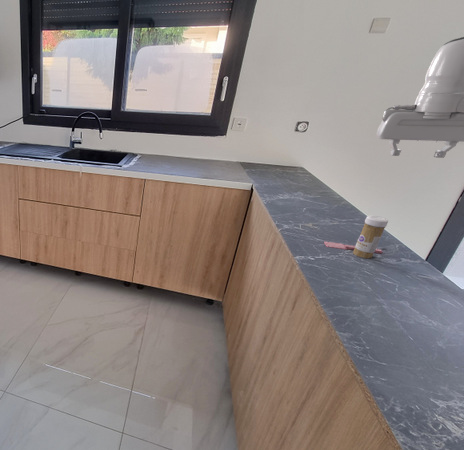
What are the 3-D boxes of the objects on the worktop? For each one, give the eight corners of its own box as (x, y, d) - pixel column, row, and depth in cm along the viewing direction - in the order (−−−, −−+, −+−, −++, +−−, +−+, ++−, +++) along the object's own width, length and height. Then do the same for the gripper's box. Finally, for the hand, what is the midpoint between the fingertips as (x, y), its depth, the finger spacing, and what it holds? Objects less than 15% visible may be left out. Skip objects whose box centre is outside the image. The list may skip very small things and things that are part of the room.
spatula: (377, 249, 98) (378, 247, 98) (383, 255, 95) (384, 253, 95) (323, 242, 104) (324, 240, 104) (327, 247, 101) (327, 245, 100)
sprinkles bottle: (346, 256, 95) (362, 215, 90) (359, 254, 96) (375, 214, 90) (362, 263, 91) (379, 221, 86) (375, 262, 92) (393, 220, 86)
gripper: (392, 105, 85) (373, 156, 90) (500, 105, 77) (473, 160, 82) (382, 104, 90) (365, 152, 96) (482, 104, 82) (458, 156, 88)
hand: (415, 156), depth 89 cm, fingers open, 8 cm apart
